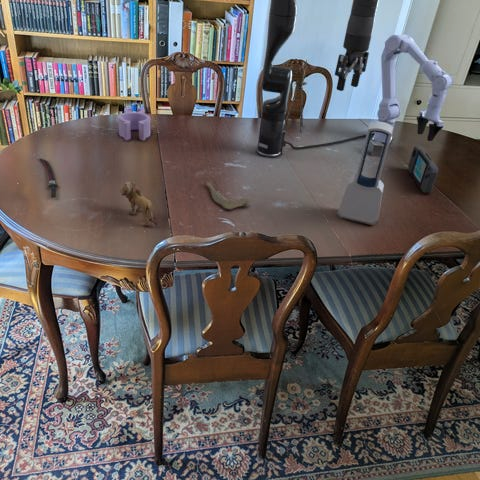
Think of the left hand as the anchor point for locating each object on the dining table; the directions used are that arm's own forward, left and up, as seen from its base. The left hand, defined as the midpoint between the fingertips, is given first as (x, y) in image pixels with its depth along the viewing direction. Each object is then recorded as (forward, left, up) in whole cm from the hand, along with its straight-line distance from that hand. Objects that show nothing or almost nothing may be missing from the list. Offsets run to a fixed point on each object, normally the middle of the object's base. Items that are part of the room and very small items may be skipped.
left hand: (347, 88), depth 145 cm
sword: (+83, -44, -35) cm, 100 cm away
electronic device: (+5, +20, -35) cm, 41 cm away
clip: (+40, -73, -35) cm, 90 cm away
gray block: (-43, -16, -35) cm, 57 cm away
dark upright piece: (-29, -54, -35) cm, 70 cm away
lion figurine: (+66, -9, -35) cm, 75 cm away
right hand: (-63, -8, -27) cm, 69 cm away
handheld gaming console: (-38, +10, -35) cm, 52 cm away
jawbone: (+35, -9, -35) cm, 50 cm away
